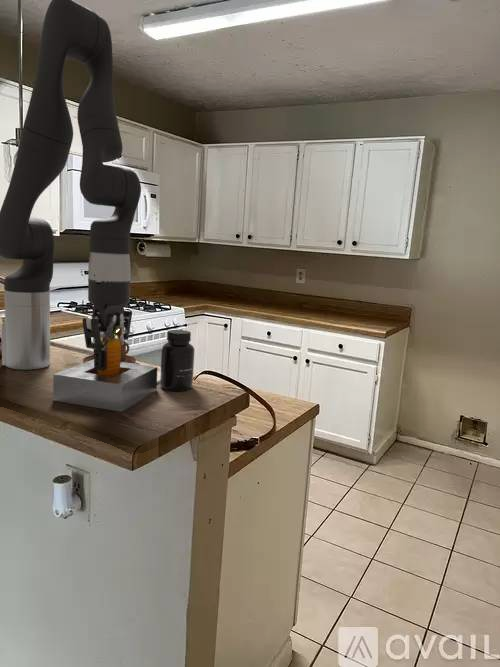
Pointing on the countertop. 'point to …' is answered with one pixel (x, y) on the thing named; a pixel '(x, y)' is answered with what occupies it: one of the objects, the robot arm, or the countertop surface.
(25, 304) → the robot arm
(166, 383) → the supplement bottle
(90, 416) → the countertop surface
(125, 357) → the cup and saucer
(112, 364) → the carrot
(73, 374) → the metal housing
